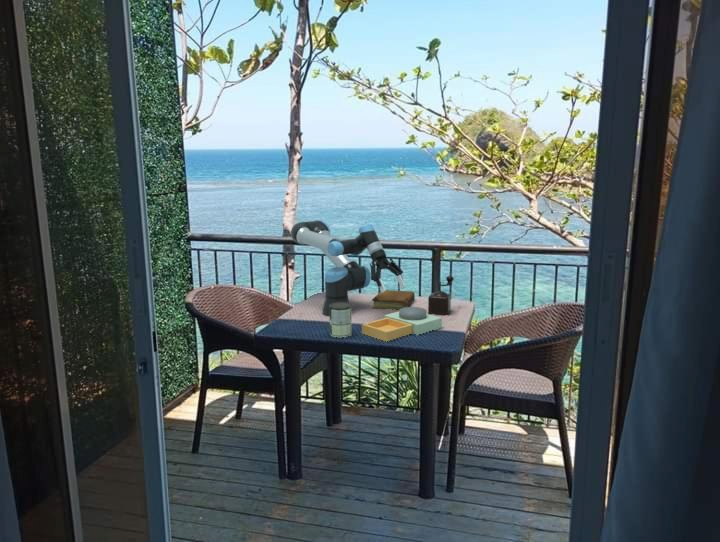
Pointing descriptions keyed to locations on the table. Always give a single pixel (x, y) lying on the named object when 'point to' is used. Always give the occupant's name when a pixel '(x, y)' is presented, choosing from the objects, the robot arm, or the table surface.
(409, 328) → the shallow square tray
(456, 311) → the table surface
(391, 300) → the diary
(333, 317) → the coffee can
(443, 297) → the pepper mill
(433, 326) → the block with grey dome
